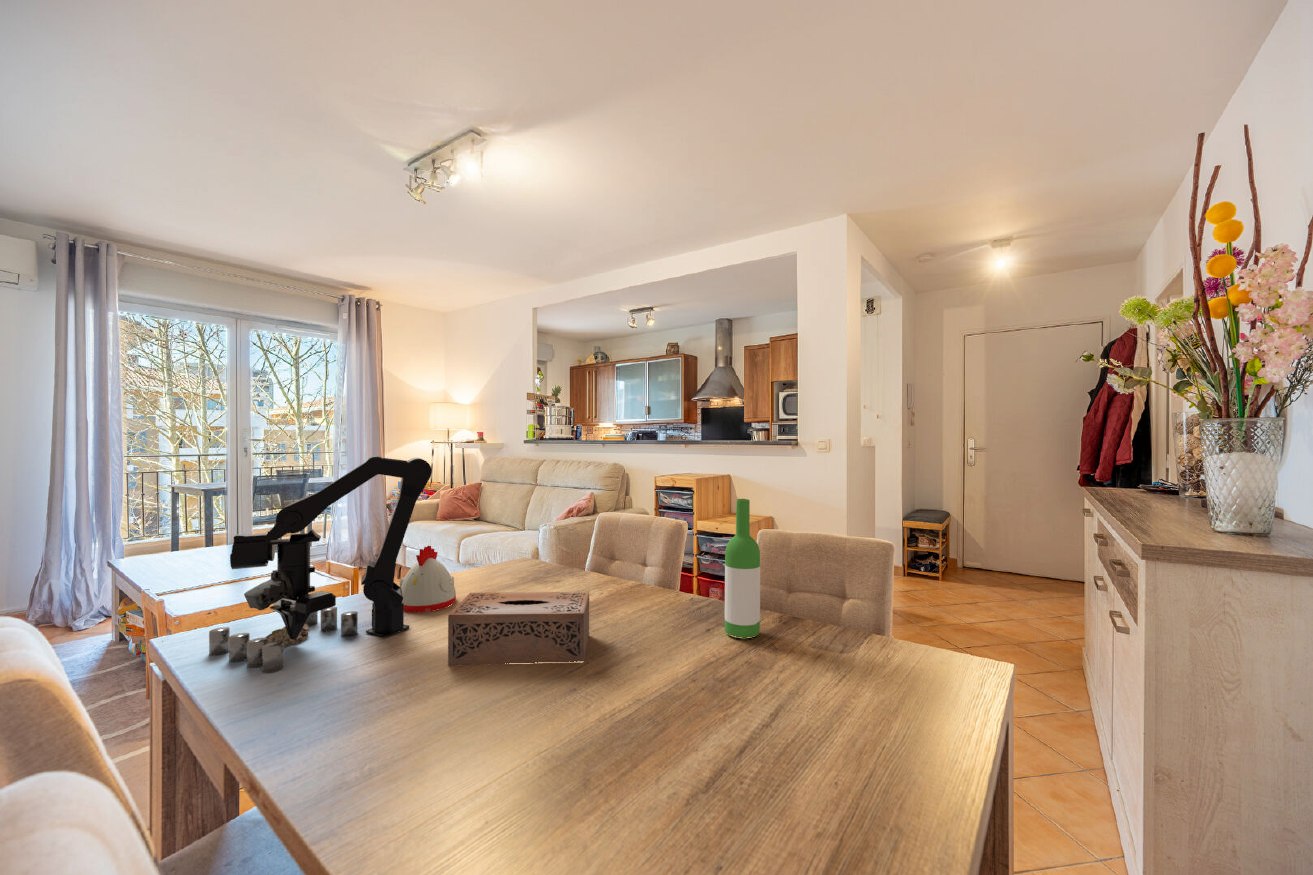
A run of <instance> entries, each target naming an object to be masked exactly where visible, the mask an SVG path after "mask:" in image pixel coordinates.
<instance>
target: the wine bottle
mask: <svg viewBox="0 0 1313 875" xmlns="http://www.w3.org/2000/svg"><path fill="white" fill-rule="evenodd" d="M735 502H736V503H735V504H736V506H735V507H736V508H735V509H736V510H735V515H736V516H735V535H734V536H733V537H731V539H729V541H728V542H727V544H726V547H725V552H724V558H725V559H724V631H725V633H726V634H727V633H728V634H730V635H733V636H736V637H742V638H747V637H753V636H756V635H758V636H759V634H760V630H761V629H760V628H761V626H760V625H761V624H760V623H761V622H760V621H761V550H760V547H759V544H758V543H757V541H756V540H755V539H754V538H753V537H752V536H751V532H750V529H751V528H750V526H751V525H750V520H751V518H750V511H751V510H750V508H751V507H750V499H748V498H737V499H736V501H735ZM728 634H727V635H728Z"/></svg>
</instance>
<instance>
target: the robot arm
mask: <svg viewBox="0 0 1313 875" xmlns="http://www.w3.org/2000/svg"><path fill="white" fill-rule="evenodd" d="M432 468H433V467H432V466H431V465H430V463H429V462H428V461H427V460H425V459H423V458H419V457H412V458H410V459H408V460H404V459H395V458H388V457H382V456H379V455H373V456H371V457H369V458H367V460H366V461H365V462H363V463H362V464H359V466H357V467H355V468H353V469H352V470H350V471H348V472H347V473H346V474H344V475H342V476H341V477H340V478H338V479H336V480H334V481H333V482H332V483H330V484H329V485H327V486H325V487H323V488H322V489H320V490H318V491H317V492H314V493H313V494H309V495H307V496H304V497H302V498H299V499H297V500H295V501H292V502H291V503H288V504H286V505H285V506H284V507H283V508H282V509H281V510H279V511H278V513H277V514H276V517H275V525H274V526H273V527H271V528H269V529H268V530H267V533H255V534H247V533H239V534H238V533H237V534H236V535H234V536H233V544H232V547H231V553H230V554H229V561H230V563H229V564H230V568H231V569H232V570H239V569H240V570H241V569H252V568H253V569H254V568H263V567H267V566H268V564H269V562H274V560H275V556H276V555H277V557H276V558H277V569H273V570H272V572H271V573H270V579H269V580H266V581H264V582H261V583H260V584H257V585H256V586H254V587H252V588H250V589H249V590H247V591H246V592H245V593H244V594H243V596H244V598H245V600H246V602H247V604H248V607H249V609H256V610H257V611H264V610H266V609H268V608H269V609H270V610H272V611H274V612H276V613H278V614H279V615H280V617H281V618H282V621H283V623H284V627H286V629H287V632H288V634H289V637H290V639H296V638H298V636H299V634H300V632H301V630H302V628H303V626H304V624H305V622H306V621H307V619H308V617H309V615H310V614H311V613H313V612H317V611H318V612H319V611H320V612H321V610H323V609H327V608H330V607H336V605H337V603H336V602H337V596H336V595H335V594H334V593H333V592H329V591H323V590H320V591H316V586H315V585H311V574H312V573H314V572H316V567H315V566H311V543H315V542H320V540H321V538H322V536H321V535H320V534H318V533H317V532H315V530H314V529H313V528H311V529H310V530H309V531H308V532H307V533H300V532H302V531H303V530H304V529H306V528H307V527H308V526H309V525H310V524H311V523H313V521H314V520H315V519H317V518H318V517H319V516H320V515H321V514H322V513H323V512H324V511H325V510H326V509H327V508H328V507H330V506H331V505H333V504H334V503H336V502H337V501H338V500H340V499H342V498H343V497H345V496H346V495H348V494H350V493H351V492H353V491H354V490H356V489H357V488H360V487H361V486H362V485H364V484H366V482H368V481H370V480H372V478H373V479H374V477H376V476H378V475H383V476H386V477H387V476H388V477H392V478H393V477H394V478H400V485H399V486H400V488H399V495H398V497H397V501H396V504H395V507H394V510H393V512H392V516H391V518H390V521H389V524H388V527H387V530H386V532H385V535H384V539H383V542H382V545H381V547H380V550H379V553H378V555H377V557H376V558H375V560H374V561H372V560H367V562H366V569H365V571H364V574H362V576H361V581H360V583H361V584H360V585H361V586H363V589H362V592H363V594H364V597H365V598H366V600H367V599H368V600H369V601H372V609H371V628H368V629H365V633H366V634H370V635H374V636H378V637H383V638H387V637H390V636H392V635H394V634H397V633H400V632H402V631H405V630H408V629H410V625H408V624H404V623H405V621H404V618H405V617H404V616H405V614H404V613H405V611H404V603H402V601H403V594H402V589H401V587H400V585H399V584H398V583H396V582H394V581H395V574H396V565H397V559H398V556H399V553H400V550H401V547H402V545H403V541H404V538H405V536H406V532H407V530H408V527H409V524H410V521H411V518H412V515H413V511H414V508H415V506H416V503H417V501H418V499H419V497H420V495H422V492H423V491H424V489H425V488H426V486H427V484H428V483H429V480H430V479H431V477H432V474H433V470H432ZM287 534H290V536H289V538H282V537H284V536H285V535H287ZM276 545H277V554H276ZM271 605H272V606H271Z"/></svg>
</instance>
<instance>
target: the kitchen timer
mask: <svg viewBox="0 0 1313 875" xmlns="http://www.w3.org/2000/svg"><path fill="white" fill-rule="evenodd" d="M437 557H438V551H435V548H432V546H431V545H427V546H424V547H423V548H420V549H419V554H417V555H416V560H417V562H416V563H414V565H412V566H411V568H409V570H408V572H407V574H406V575H405V576H404V577H403V576H402V577H401V578H400V581H399V586H400V587H401V589H402V594H403V601H402V603H404V612H407V613H427V612H434V611H433V610H435V611H438V610H437V609H440V610H442V609H441V608H443V609H446V608H445V607H447V608H448V606H449V605H451V604H453V603H454V602H455V603H456V601H457V597H456V595H457V594H456V588H455V577H454V576H451V573H450V572H449V570H448V569H447V567H446V566H444V564H443V563H441V562H440V561H438V560H437ZM455 600H456V601H455ZM455 603H454V604H455ZM454 604H453V605H454ZM451 606H452V605H451ZM449 607H450V606H449Z"/></svg>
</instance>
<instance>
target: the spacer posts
mask: <svg viewBox="0 0 1313 875" xmlns="http://www.w3.org/2000/svg"><path fill="white" fill-rule="evenodd" d="M318 613H319V611H317V612H313V613H311V614H310V615H309V617H308V619H307V621H306V622H305V624H307V625H308V627H312V626H316V625H318V620H319V619H318V618H319V617H318V615H319V614H318ZM358 614H359V613H358V611H356V610H355V611H354V610H350V611H345V612H342V613H341V614H340V636H341V637H343V638H345V637H346V638H347V637H352V636H353V637H354V636H356V635H358V634H359V633H358V630H359V629H358V625H359V624H358V621H359V620H358V619H359V618H358V617H359V616H358ZM337 628H338V607H336V606H333V607H330V608H327V609H323V610H320V632H331V631H334V630H336V629H337ZM208 642H209V643H208V647H209V648H208V654H209V656H220V655H223V654H226V653H227V654H228V661H229V663H230V662H231V663H236V661H238V662H243V661H245V660H244V659H246V667H247V668H249V669H254V668H259V667H261V668H262V673H263V674H271V673H276V672H279V671H282V669H284V647H283V643H282V642H274V643H269V644H268V639H267V638H265V637H256V638H253V639H250V633H249V632H239V633H235V634H230V627H229V626H222V627H216V628H213V629H210V630H209V632H208ZM242 660H243V661H242Z"/></svg>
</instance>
